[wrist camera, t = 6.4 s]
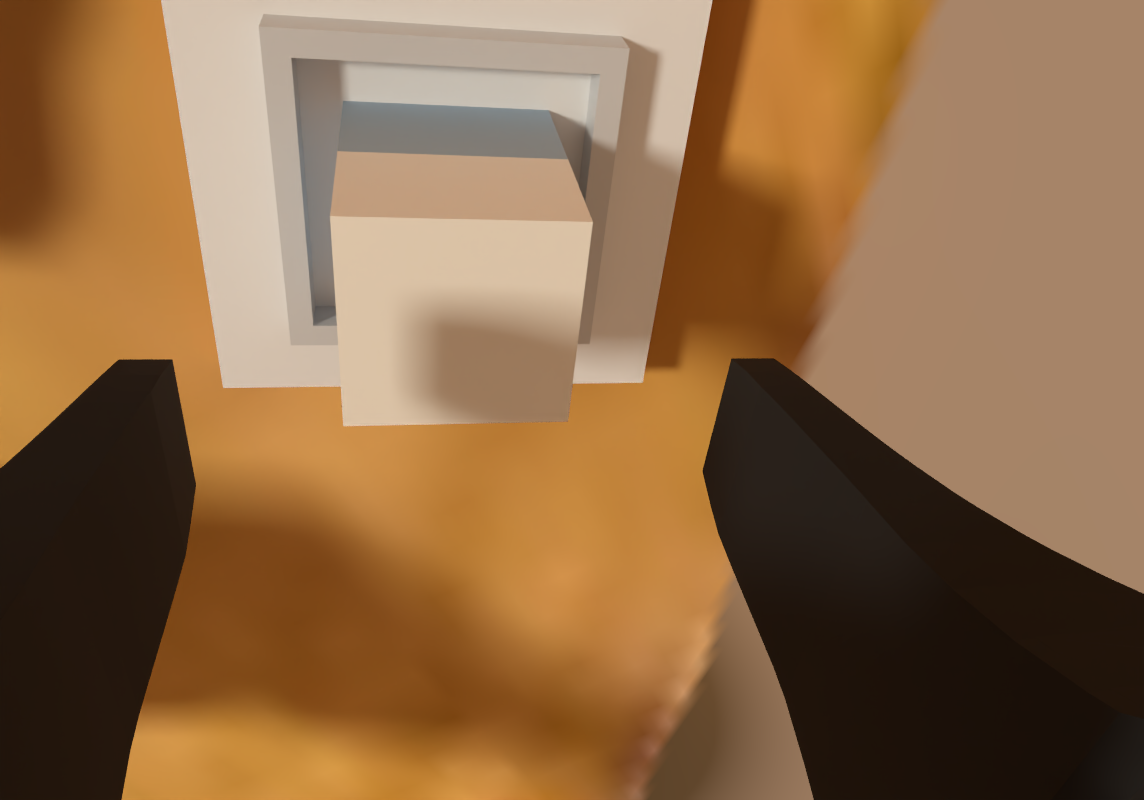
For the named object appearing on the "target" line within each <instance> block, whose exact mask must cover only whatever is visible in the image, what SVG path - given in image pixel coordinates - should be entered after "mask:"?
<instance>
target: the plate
mask: <svg viewBox="0 0 1144 800" xmlns="http://www.w3.org/2000/svg"><path fill="white" fill-rule="evenodd" d="M161 2H162V8H163V15H164V21H165V27H166V33H167V40H168V46H169V52H170V58H171V65H172V71H173V77H174V83H175V90H176V96H177V102H178V108H179V115H180V121H181V127H182V133H183V140H184V146H185V152H186V158H187V165H188V171H189V177H190V183H191V189H192V196H193V202H194V208H195V214H196V221H197V227H198V233H199V239H200V246H201V252H202V258H203V264H204V271H205V277H206V283H207V289H208V296H209V302H210V308H211V314H212V321H213V327H214V333H215V339H216V346H217V352H218V358H219V364H220V371H221V377H222V383H223V388H255V387H334V386H341V381H340V366H339V350H338V334H337V318H336V303H335V287H334V271H333V256H332V240H331V224H330V212H331V203H332V194H333V185H334V176H335V168H336V159H337V150H338V141H339V132H340V123H341V114H342V106H343V101H359V102H381V103H403V104H425V105H447V106H469V107H491V108H513V109H534V110H549V113H550V115H551V118H552V120H553V123H554V125H555V128H556V130H557V133H558V135H559V138H560V140H561V143H562V145H563V148H564V150H565V153H566V155H567V158H568V160H569V163H570V165H571V168H572V170H573V173H574V175H575V178H576V180H577V183H578V186H579V188H580V191H581V193H582V196H583V198H584V201H585V203H586V206H587V208H588V211H589V213H590V216H591V218H592V221H593V226H592V234H591V242H590V250H589V258H588V266H587V274H586V282H585V289H584V297H583V305H582V313H581V321H580V329H579V337H578V345H577V353H576V361H575V369H574V377H573V383H643V377H644V372H645V366H646V361H647V355H648V350H649V344H650V339H651V334H652V328H653V323H654V317H655V312H656V306H657V301H658V295H659V290H660V284H661V279H662V273H663V268H664V262H665V257H666V252H667V246H668V241H669V235H670V230H671V224H672V219H673V213H674V208H675V202H676V197H677V191H678V186H679V181H680V175H681V170H682V164H683V159H684V153H685V148H686V142H687V137H688V131H689V126H690V120H691V115H692V109H693V104H694V99H695V93H696V88H697V82H698V77H699V71H700V66H701V60H702V55H703V49H704V44H705V38H706V33H707V28H708V22H709V17H710V11H711V6H712V0H161Z"/></svg>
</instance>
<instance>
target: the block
mask: <svg viewBox="0 0 1144 800" xmlns="http://www.w3.org/2000/svg"><path fill="white" fill-rule="evenodd" d="M330 224H331V240H332V256H333V271H334V287H335V303H336V318H337V334H338V350H339V366H340V381H341V397H342V413H343V426H375V425H424V424H472V423H520V422H568V416H569V408H570V401H571V393H572V385H573V377H574V369H575V361H576V353H577V345H578V337H579V329H580V321H581V313H582V305H583V297H584V289H585V282H586V274H587V266H588V258H589V250H590V242H591V234H592V226H593V221H592V218H591V216H590V213H589V211H588V208H587V206H586V203H585V201H584V198H583V196H582V193H581V191H580V188H579V186H578V183H577V180H576V178H575V175H574V173H573V170H572V168H571V165H570V163H569V160H568V158H567V155H566V153H565V150H564V148H563V145H562V143H561V140H560V138H559V135H558V133H557V130H556V128H555V125H554V123H553V120H552V118H551V115H550V113H549V110H534V109H513V108H491V107H469V106H447V105H425V104H403V103H381V102H359V101H343V106H342V114H341V123H340V132H339V141H338V150H337V159H336V168H335V176H334V185H333V194H332V203H331V212H330Z"/></svg>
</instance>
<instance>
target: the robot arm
mask: <svg viewBox="0 0 1144 800" xmlns="http://www.w3.org/2000/svg"><path fill="white" fill-rule="evenodd" d="M703 475H704V479H705V483H706V488H707V492H708V496H709V500H710V504H711V508H712V512H713V515H714V519H715V523H716V526H717V530H718V534H719V536H720V539H721V541H722V544H723V546H724V549H725V551H726V554H727V556H728V559H729V561H730V564H731V566H732V569H733V571H734V574H735V576H736V578H737V581H738V583H739V586H740V588H741V590H742V593H743V595H744V598H745V600H746V602H747V605H748V607H749V610H750V612H751V614H752V617H753V619H754V621H755V624H756V626H757V628H758V631H759V633H760V636H761V638H762V641H763V643H764V645H765V648H766V650H767V653H768V655H769V657H770V660H771V662H772V665H773V666H774V670H775V672H776V675H777V678H778V681H779V683H780V686H781V689H782V691H783V694H784V697H785V700H786V703H787V707H788V710H789V713H790V717H791V720H792V724H793V727H794V730H795V733H796V737H797V741H798V744H799V747H800V751H801V754H802V758H803V761H804V764H805V768H806V772H807V776H808V779H809V783H810V786H811V791H812V794H813V798H814V800H1144V594H1142V593H1141V592H1138V591H1136V590H1134V589H1132V588H1130V587H1127V586H1125V585H1123V584H1121V583H1119V582H1116V581H1114V580H1112V579H1110V578H1108V577H1105V576H1103V575H1101V574H1099V573H1097V572H1095V571H1093V570H1091V569H1089V568H1087V567H1085V566H1083V565H1081V564H1079V563H1077V562H1075V561H1073V560H1071V559H1069V558H1067V557H1065V556H1063V555H1061V554H1059V553H1057V552H1055V551H1053V550H1051V549H1050V548H1048V547H1046V546H1044V545H1042V544H1040V543H1038V542H1037V541H1035V540H1033V539H1031V538H1029V537H1027V536H1026V535H1024V534H1022V533H1020V532H1018V531H1017V530H1015V529H1013V528H1012V527H1010V526H1008V525H1007V524H1005V523H1003V522H1002V521H1000V520H998V519H996V518H995V517H993V516H991V515H990V514H988V513H986V512H985V511H983V510H981V509H980V508H978V507H976V506H975V505H973V504H971V503H970V502H968V501H967V500H965V499H963V498H962V497H960V496H959V495H957V494H956V493H954V492H953V491H951V490H950V489H948V488H947V487H945V486H944V485H942V484H941V483H939V482H938V481H937V480H935V479H934V478H932V477H931V476H929V475H928V474H926V473H925V472H924V471H922V470H921V469H919V468H917V467H916V466H915V465H913V464H912V463H911V462H909V461H908V460H907V459H905V458H904V457H902V456H901V455H899V454H898V453H897V452H896V451H894V450H893V449H891V448H890V447H889V446H887V445H886V444H884V443H883V442H882V441H881V440H879V439H878V438H877V437H876V436H874V435H873V434H872V433H870V432H869V431H868V430H866V429H865V428H864V427H863V426H861V425H860V424H858V423H857V422H856V421H855V420H854V419H852V418H851V417H850V416H848V415H847V414H846V413H844V412H843V411H842V410H841V409H840V408H838V407H837V406H836V405H834V404H833V403H832V402H831V401H829V400H828V399H827V398H826V397H824V396H823V395H822V394H821V393H819V392H818V391H817V390H815V389H814V388H813V387H812V386H810V385H809V384H808V383H807V382H805V381H804V380H803V379H801V378H800V377H799V376H797V375H796V374H795V373H793V372H792V371H791V370H789V369H788V368H787V367H785V366H784V365H782V364H781V363H779V362H778V361H776V360H775V359H731V363H730V367H729V371H728V375H727V378H726V382H725V386H724V390H723V394H722V398H721V402H720V405H719V409H718V413H717V417H716V421H715V425H714V429H713V433H712V436H711V440H710V444H709V448H708V452H707V456H706V460H705V464H704V467H703ZM195 487H196V483H195V477H194V472H193V467H192V462H191V456H190V451H189V446H188V440H187V435H186V430H185V425H184V419H183V414H182V409H181V403H180V398H179V393H178V387H177V382H176V377H175V372H174V366H173V361H172V360H118V361H117V362H116V363H114V364H113V365H112V366H111V367H110V368H109V369H108V370H107V371H106V372H105V373H103V374H102V375H101V376H100V377H99V378H98V379H97V380H96V381H95V382H94V383H93V384H92V385H91V386H89V387H88V388H87V389H86V390H85V391H84V392H83V393H82V394H81V395H80V396H79V397H78V398H77V399H76V400H75V401H74V402H73V403H72V404H70V405H69V406H68V407H67V408H66V409H65V410H64V411H63V412H62V413H61V414H60V415H59V416H58V417H57V418H56V419H55V420H54V421H52V422H51V423H50V424H49V425H48V426H47V427H46V428H45V429H44V430H43V431H42V432H41V433H39V434H38V435H37V436H36V437H35V438H34V439H33V440H32V441H31V442H30V443H28V444H27V445H26V446H25V447H24V448H23V449H22V450H21V451H20V452H18V453H17V454H16V455H15V456H14V457H13V458H12V459H11V460H10V461H8V462H7V463H6V464H5V465H4V466H3V467H2V468H0V800H121V799H122V793H123V788H124V782H125V777H126V771H127V765H128V760H129V754H130V749H131V745H132V741H133V737H134V733H135V729H136V725H137V721H138V717H139V713H140V709H141V706H142V703H143V699H144V696H145V692H146V689H147V686H148V682H149V679H150V676H151V672H152V669H153V665H154V662H155V659H156V655H157V652H158V649H159V645H160V642H161V638H162V635H163V632H164V628H165V625H166V622H167V618H168V615H169V611H170V608H171V604H172V601H173V598H174V594H175V591H176V587H177V584H178V580H179V577H180V573H181V570H182V566H183V562H184V559H185V555H186V549H187V543H188V536H189V530H190V524H191V517H192V509H193V502H194V495H195Z"/></svg>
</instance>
